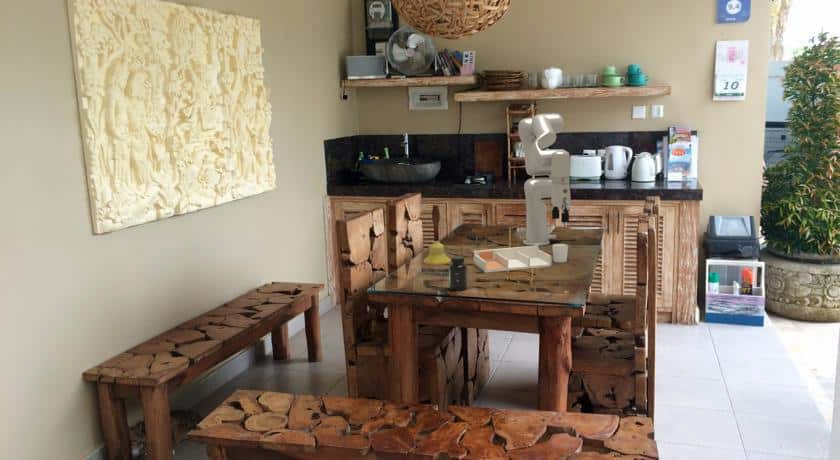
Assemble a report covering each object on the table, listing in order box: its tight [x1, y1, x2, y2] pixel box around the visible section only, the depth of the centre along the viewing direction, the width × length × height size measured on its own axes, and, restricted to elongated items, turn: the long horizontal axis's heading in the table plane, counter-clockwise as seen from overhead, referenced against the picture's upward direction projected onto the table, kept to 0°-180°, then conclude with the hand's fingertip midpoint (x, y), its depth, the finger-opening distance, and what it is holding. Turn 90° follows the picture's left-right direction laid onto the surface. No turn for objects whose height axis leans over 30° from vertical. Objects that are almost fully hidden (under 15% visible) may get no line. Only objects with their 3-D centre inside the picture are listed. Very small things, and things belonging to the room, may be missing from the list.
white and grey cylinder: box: [551, 243, 569, 263], centre depth 307 cm, size 7×7×7 cm
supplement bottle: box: [448, 255, 468, 291], centre depth 270 cm, size 7×7×12 cm
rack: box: [473, 245, 552, 274], centre depth 302 cm, size 29×15×6 cm, turn 103°
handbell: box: [423, 204, 451, 265], centre depth 313 cm, size 12×12×25 cm
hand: (560, 220), depth 304 cm, fingers open, 9 cm apart
